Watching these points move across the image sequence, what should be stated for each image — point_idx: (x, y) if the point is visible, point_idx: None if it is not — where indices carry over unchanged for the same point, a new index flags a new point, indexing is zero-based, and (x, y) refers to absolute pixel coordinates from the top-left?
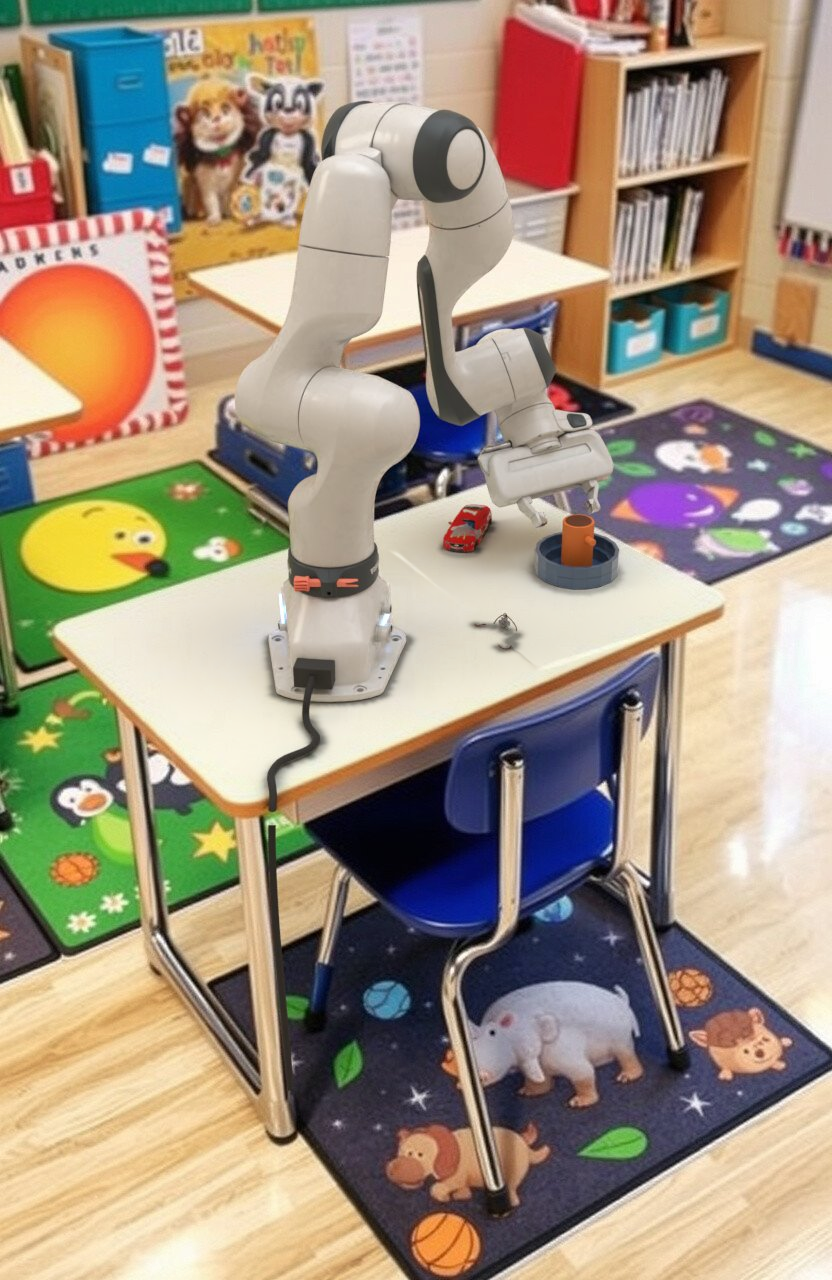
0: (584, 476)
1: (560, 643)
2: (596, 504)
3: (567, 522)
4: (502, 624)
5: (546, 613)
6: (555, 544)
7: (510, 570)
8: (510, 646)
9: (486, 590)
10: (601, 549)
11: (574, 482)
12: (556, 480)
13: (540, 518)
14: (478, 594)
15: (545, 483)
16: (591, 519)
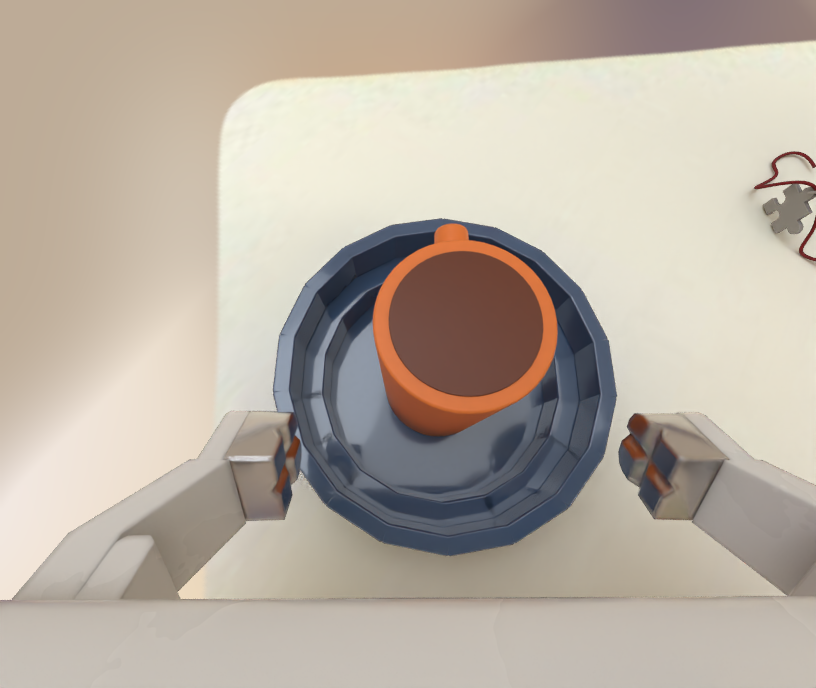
0: (136, 630)
1: (659, 122)
2: (243, 424)
3: (537, 332)
4: (790, 218)
5: (632, 239)
6: (444, 528)
7: (624, 524)
8: (784, 154)
9: (752, 438)
10: (313, 395)
11: (323, 600)
12: (611, 680)
13: (698, 430)
14: (785, 428)
15: (807, 674)
16: (390, 297)
